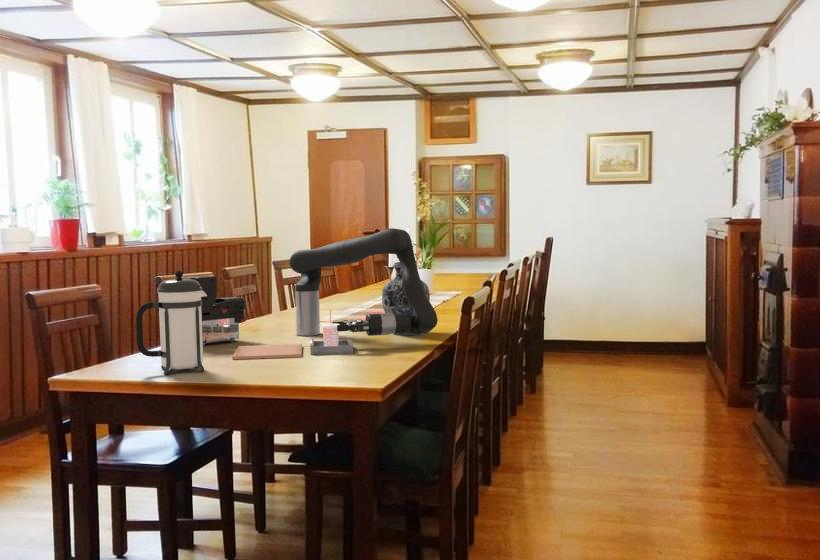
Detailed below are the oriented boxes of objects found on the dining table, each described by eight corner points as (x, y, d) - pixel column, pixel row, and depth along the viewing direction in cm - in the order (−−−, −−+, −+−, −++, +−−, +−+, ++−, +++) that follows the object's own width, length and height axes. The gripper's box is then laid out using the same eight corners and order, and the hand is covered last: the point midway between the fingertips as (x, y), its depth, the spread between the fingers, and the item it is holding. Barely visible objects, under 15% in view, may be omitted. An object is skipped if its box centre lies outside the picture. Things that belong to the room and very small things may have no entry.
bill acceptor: (247, 341, 290) (245, 274, 288) (188, 348, 275) (185, 278, 273) (234, 338, 298) (232, 273, 296) (176, 345, 283) (174, 276, 281)
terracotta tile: (238, 349, 272) (238, 346, 272) (302, 346, 275) (302, 343, 275) (232, 359, 250) (232, 356, 250) (301, 357, 253) (301, 354, 253)
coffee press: (179, 364, 243) (175, 268, 241) (218, 368, 236) (215, 269, 233) (136, 374, 228) (132, 272, 225) (177, 378, 220) (173, 273, 218)
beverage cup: (325, 352, 261) (324, 311, 260) (320, 350, 267) (319, 309, 266) (342, 351, 263) (341, 310, 262) (337, 348, 269) (336, 308, 268)
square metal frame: (310, 348, 271) (310, 337, 271) (350, 346, 273) (350, 336, 272) (310, 354, 257) (310, 343, 257) (352, 353, 259) (352, 342, 259)
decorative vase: (430, 337, 292) (428, 262, 290) (381, 338, 293) (378, 264, 291) (431, 329, 313) (429, 260, 312) (385, 330, 314) (382, 261, 312)
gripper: (375, 311, 276) (330, 313, 271) (385, 315, 263) (338, 318, 258) (375, 332, 277) (330, 334, 272) (386, 337, 263) (339, 340, 258)
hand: (334, 326), depth 265 cm, fingers open, 8 cm apart
